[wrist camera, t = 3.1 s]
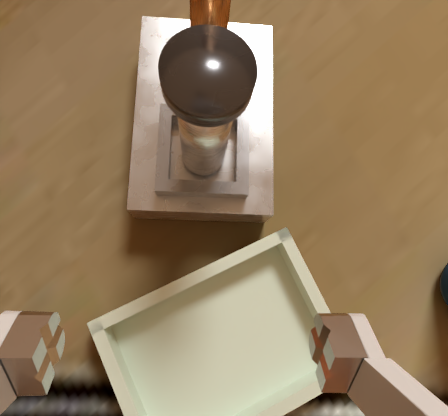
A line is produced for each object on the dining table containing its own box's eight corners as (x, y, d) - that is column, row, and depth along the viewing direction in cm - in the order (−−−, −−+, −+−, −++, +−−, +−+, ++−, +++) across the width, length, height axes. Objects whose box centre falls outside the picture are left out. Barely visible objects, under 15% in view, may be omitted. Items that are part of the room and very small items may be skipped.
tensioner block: (264, 222, 33) (336, 162, 16) (134, 218, 32) (67, 148, 15) (264, 40, 37) (322, -165, 20) (149, 31, 36) (107, -190, 19)
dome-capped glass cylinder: (188, 192, 29) (183, 129, 17) (164, 140, 30) (142, 44, 18) (242, 168, 30) (274, 91, 18) (217, 118, 31) (231, 11, 18)
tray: (157, 470, 28) (153, 490, 26) (96, 319, 30) (86, 323, 28) (346, 363, 31) (360, 371, 29) (279, 231, 33) (286, 226, 30)
